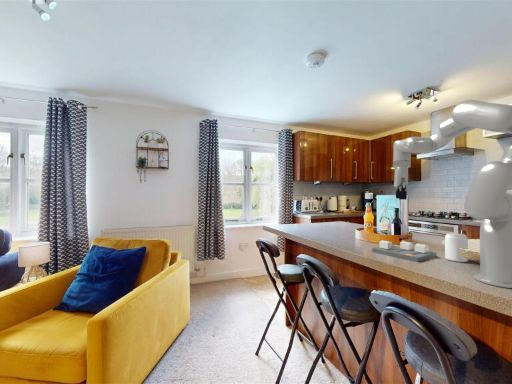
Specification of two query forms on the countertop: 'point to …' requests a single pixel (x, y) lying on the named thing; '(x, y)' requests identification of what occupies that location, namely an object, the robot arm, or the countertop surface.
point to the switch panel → (404, 253)
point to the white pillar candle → (455, 246)
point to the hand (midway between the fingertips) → (400, 198)
